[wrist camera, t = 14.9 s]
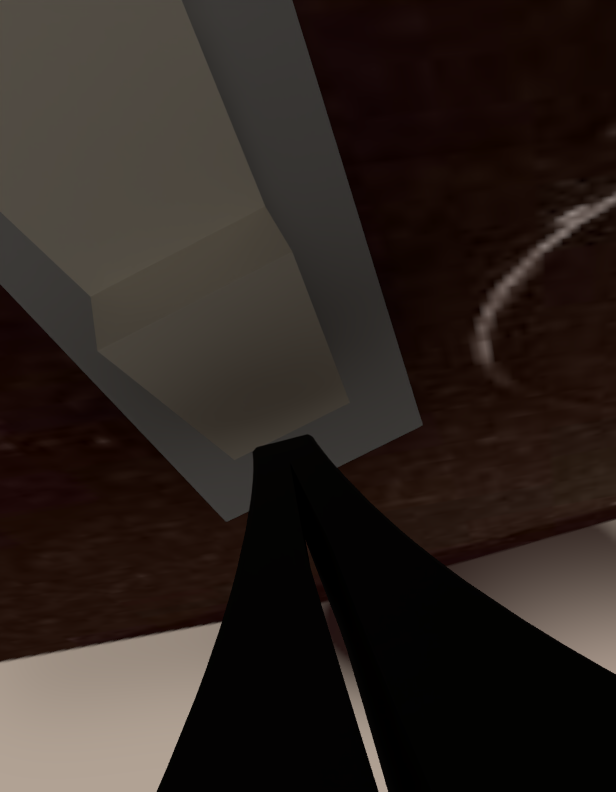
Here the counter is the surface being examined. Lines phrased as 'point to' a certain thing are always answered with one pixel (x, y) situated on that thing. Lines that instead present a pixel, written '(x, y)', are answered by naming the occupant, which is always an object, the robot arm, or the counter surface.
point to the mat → (301, 228)
